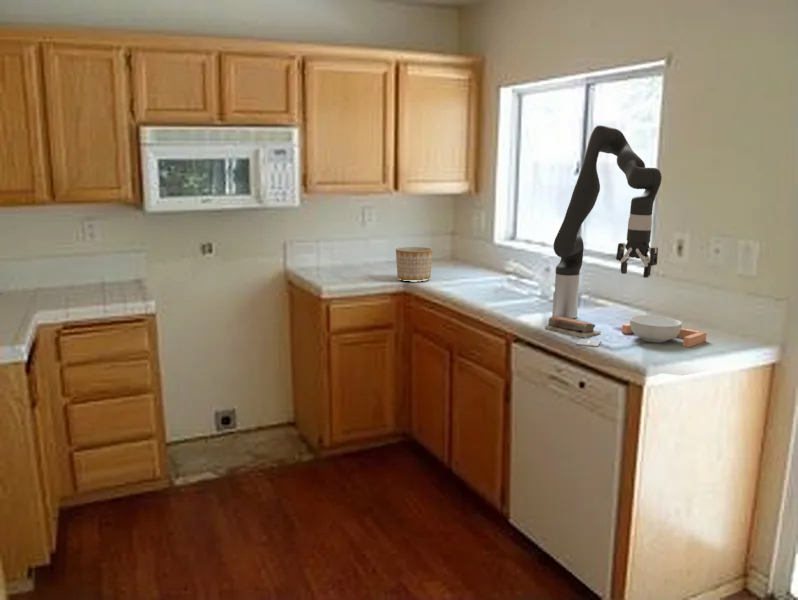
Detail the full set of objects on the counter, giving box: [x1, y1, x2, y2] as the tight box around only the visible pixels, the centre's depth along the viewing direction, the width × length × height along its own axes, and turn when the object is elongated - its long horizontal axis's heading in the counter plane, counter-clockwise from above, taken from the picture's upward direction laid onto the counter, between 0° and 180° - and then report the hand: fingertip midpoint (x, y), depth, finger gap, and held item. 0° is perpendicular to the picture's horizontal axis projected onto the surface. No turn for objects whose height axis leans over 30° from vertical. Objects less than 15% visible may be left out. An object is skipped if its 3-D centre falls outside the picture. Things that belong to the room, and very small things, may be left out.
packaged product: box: [545, 316, 602, 339], centre depth 247 cm, size 18×5×10 cm
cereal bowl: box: [629, 314, 683, 344], centre depth 235 cm, size 17×17×7 cm
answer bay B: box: [621, 322, 708, 348], centre depth 239 cm, size 12×25×3 cm, turn 40°
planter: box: [395, 246, 434, 280], centre depth 354 cm, size 19×19×16 cm
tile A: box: [576, 338, 602, 348], centre depth 230 cm, size 7×7×1 cm
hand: (634, 275), depth 231 cm, fingers open, 8 cm apart
